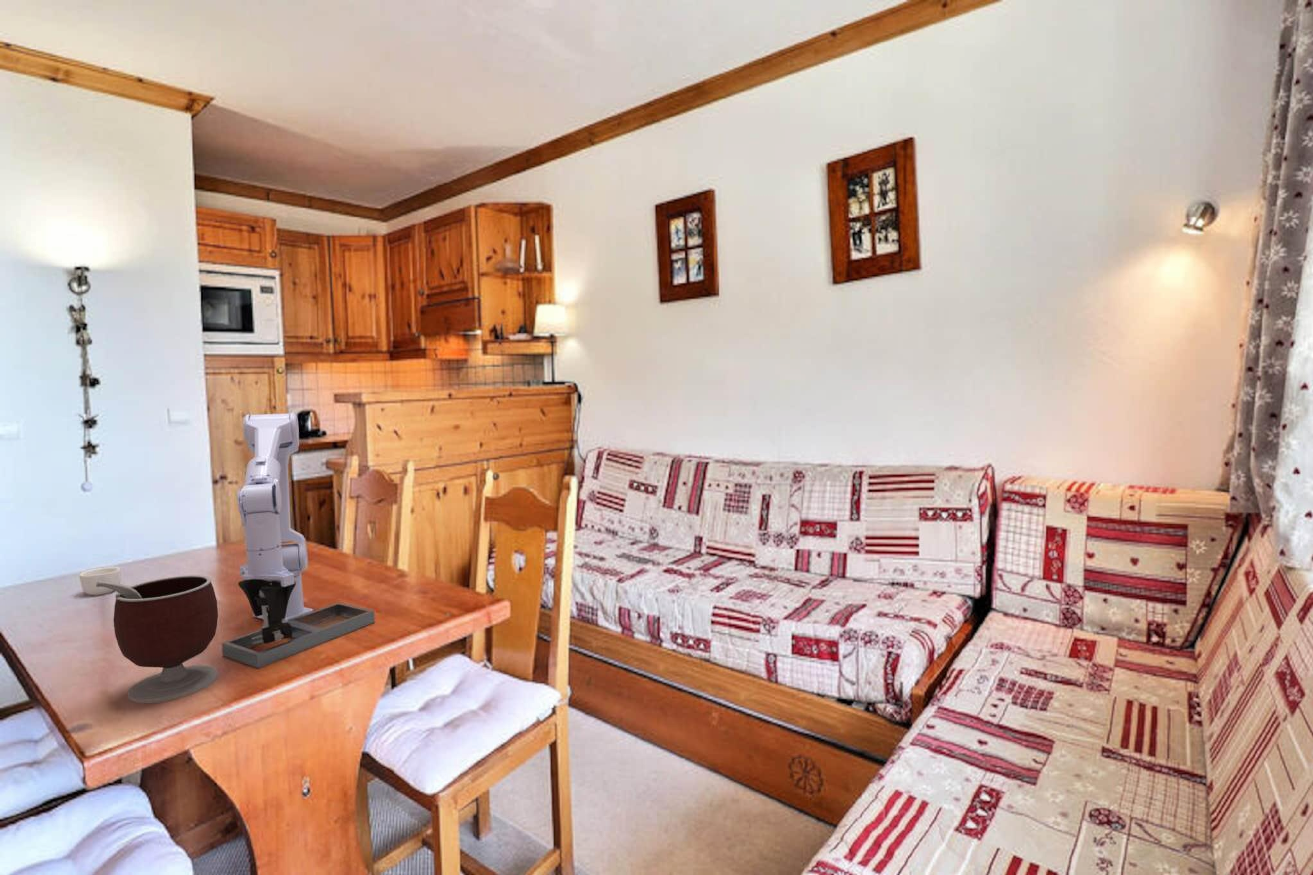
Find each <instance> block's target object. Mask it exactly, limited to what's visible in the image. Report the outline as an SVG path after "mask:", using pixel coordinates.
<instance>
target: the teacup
mask: <svg viewBox="0 0 1313 875" xmlns="http://www.w3.org/2000/svg"><path fill="white" fill-rule="evenodd" d="M78 576H79V577H78V578H79V582H80V586H81V588H82V589H81V590H82V591H83V592H84V593H86V594H87V595H89V596H102V595H107V594H110V593H112V592H114V591H115V590H112V589H110V588H106V587H96V584H97V582H109V583H115V584H121V568H120V567H119V566H105V567H99V568H98V567H97V568H94V569H89V570H86V571H83V572H81V573H80V574H79V575H78Z"/></svg>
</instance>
